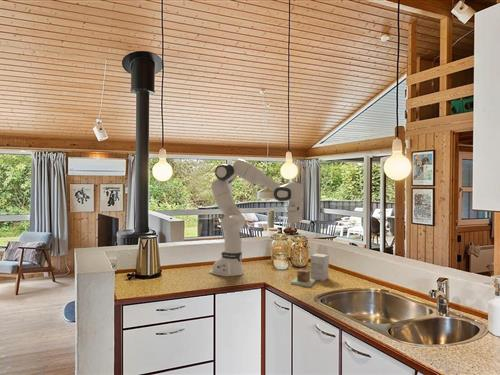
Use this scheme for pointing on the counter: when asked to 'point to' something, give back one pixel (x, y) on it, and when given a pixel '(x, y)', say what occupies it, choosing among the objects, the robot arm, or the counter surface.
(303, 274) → the block
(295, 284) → the plate
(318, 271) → the supplement box
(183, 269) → the counter surface
